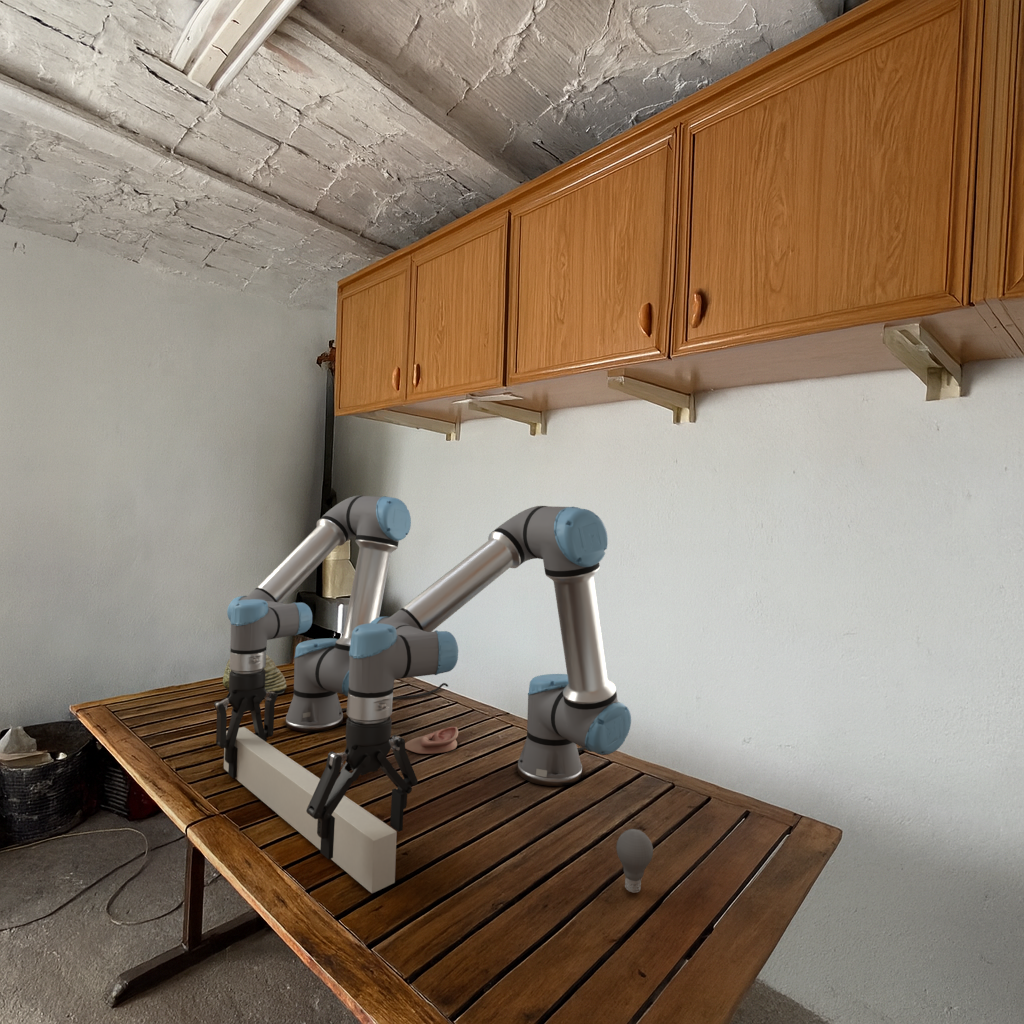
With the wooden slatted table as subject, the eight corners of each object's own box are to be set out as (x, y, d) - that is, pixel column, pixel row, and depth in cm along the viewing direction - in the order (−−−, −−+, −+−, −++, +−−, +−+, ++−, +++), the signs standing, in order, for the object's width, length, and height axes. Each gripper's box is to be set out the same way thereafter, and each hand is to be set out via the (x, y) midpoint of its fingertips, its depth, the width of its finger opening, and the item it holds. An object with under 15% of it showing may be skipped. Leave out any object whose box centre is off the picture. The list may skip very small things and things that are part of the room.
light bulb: (610, 879, 108) (613, 822, 108) (644, 879, 109) (647, 822, 109) (619, 902, 102) (622, 840, 102) (655, 901, 103) (658, 840, 103)
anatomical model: (398, 735, 159) (414, 720, 170) (398, 751, 159) (414, 734, 170) (449, 741, 156) (462, 725, 167) (448, 757, 156) (461, 740, 168)
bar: (223, 768, 145) (224, 731, 145) (243, 763, 148) (244, 726, 148) (371, 894, 102) (373, 840, 102) (394, 882, 105) (396, 831, 105)
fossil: (218, 695, 195) (220, 647, 195) (278, 685, 208) (279, 640, 207) (228, 703, 189) (230, 653, 188) (289, 692, 201) (290, 645, 201)
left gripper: (213, 680, 133) (209, 790, 134) (292, 666, 146) (289, 767, 146) (200, 672, 138) (197, 777, 139) (278, 660, 151) (274, 757, 151)
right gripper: (312, 739, 96) (304, 879, 96) (440, 708, 114) (434, 826, 114) (289, 725, 101) (282, 857, 101) (415, 698, 119) (409, 810, 119)
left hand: (244, 772), depth 142 cm, fingers closed on bar, 4 cm apart
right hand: (362, 841), depth 108 cm, fingers open, 13 cm apart
